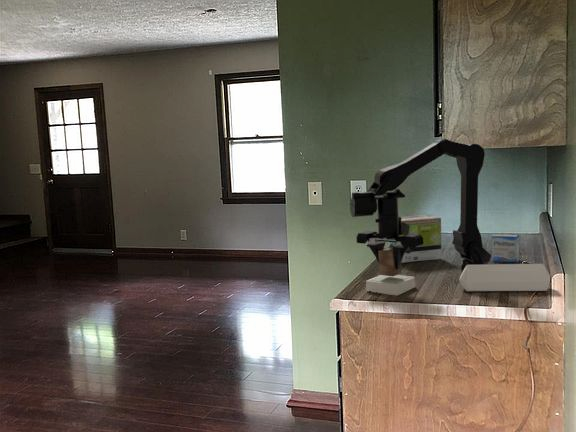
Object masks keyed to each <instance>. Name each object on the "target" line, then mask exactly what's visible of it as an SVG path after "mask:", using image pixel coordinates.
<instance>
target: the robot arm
mask: <svg viewBox="0 0 576 432" xmlns="http://www.w3.org/2000/svg"><path fill="white" fill-rule="evenodd" d="M485 154H486V153H485V149H484V148H483V147H482V146H481V145H480V144H477V143H460V142H456V141H453V140H449V139H447V138H439V139H436V140H435V141H434V142H433V143H431V144H430V145H428V146H426V147H425V148H423V149H421V150H419V151H418V152H416V153H415V154H413V155H411V156H410V157H408V158H406V159H405V160H403V161H401V162H399V163H396V164H393V165H390V166H387V167H384V168H382V169H379V170H378V171H377V172H376V173H375V174H374V178H373V182H372V184H371V185H370V187H369V188H368V190H367V191H366V192H355V191H354V192H351V197H350V202H349V210H350V214H351V217H352V218H357V217H359V218H360V217H370V216H371V217H372V216H374V214H376V212H377V217H376V218H375V223H376V224H377V226H378V232H377V231H375V230H374V231H373V230H365V231H362V232H361V231H360V232H358V233H357V234H356V244H366V247H367V248H369V249H370V251H371V252H372V254H373V255H374V257H375V259H376V261H377V262H378V264H379V253H378V251H379V250H382V249H384V248H385V246H386V243H390V242H396V243H397V246H395V247H393V252H394V260H395V267H396V270H398V269H399V268H400V265H401V266H402V263H401V262H402V259H403V256H404V253H405V251H406V250H407V248H409V247H417V246H419V245H422V244H423V237H422V236H421V234H409V228H410V225H408V224H406V223H402V221H401V217H402V216H399V198H401V199H402V198H405V197H406V194H404V193H403V192H402V191H401V190H400V189H399V187H400V186H401V185H402V184H403V183H404V182H405V181H406V180H407V179H408V177H409V176H411V175H412V174H414V173H415V172H416V171H418V170H420V169H421V168H424V167H426V166H427V165H428V164H430V163H432V162H433V161H435V160H436V159H439V158H440V157H442V156H443V155H446V156H448V157H452V158H455V160H456V165H457V168H458V171H459V173H460V222H459V227H457V230H455V229H453V230H452V236H453V238H452V242H451V244H453V246H454V249H455V250H456V252H458V253H459V255H460V258H461V259H462V264H461V265H460V268H461V270H460V271H461V274H462V272H463V270H464V268H465V267H466V266H467V265H484V264H489V263H490V261H491V258H492V254H490V252H489V251H487V250H486V249H485V248H484V246H483V240H482V235H481V231H480V229H479V227H478V226H479V225H478V207H479V205H478V202H479V201H478V200H479V198H478V197H479V174H480V173H481V171H482V168H483V166H484V162H485V156H486V155H485ZM399 235H404V236H399ZM367 242H368V243H367ZM461 274H460V275H461Z"/></svg>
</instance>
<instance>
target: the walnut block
mask: <svg viewBox="0 0 576 432" xmlns="http://www.w3.org/2000/svg"><path fill="white" fill-rule="evenodd" d="M378 253H379V263H378V273H379V275H385V276H396V275H401V274H402V264H401V265H400V268H399V269H398V270H396V267H395V260H394V252H393V248H390V247H384V249H382V250H379V251H378ZM379 275H378V276H379Z"/></svg>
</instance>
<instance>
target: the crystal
mask: <svg viewBox="0 0 576 432" xmlns="http://www.w3.org/2000/svg"><path fill="white" fill-rule="evenodd" d="M550 276H551V275H550V273H549V271H548V270H547V268H546V267H545V264H544V263H504V264H503V263H499V264H494V263H492V264H489V263H488V264H484V265H467V266H466V267H465V268H464V270H463V272H462V274H460V276H459V285H460V286H461V287H462V288H463V289H464V290H465V292H547V291H548V290H549V288H550V286H549V283H550ZM550 284H551V283H550ZM548 287H549V288H548ZM547 289H548V290H547Z"/></svg>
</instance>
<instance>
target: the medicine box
mask: <svg viewBox="0 0 576 432" xmlns="http://www.w3.org/2000/svg"><path fill="white" fill-rule="evenodd" d="M519 238H520V236H519V234H501V233H500V234H499V233H498V234H494V233H493V235H492V236H491V250H492V251H491V252H492V253H491V258H492V259H491V261H492V262H493V263H512V262H515V263H514V264H518V262H519V260H520V239H519Z"/></svg>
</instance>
